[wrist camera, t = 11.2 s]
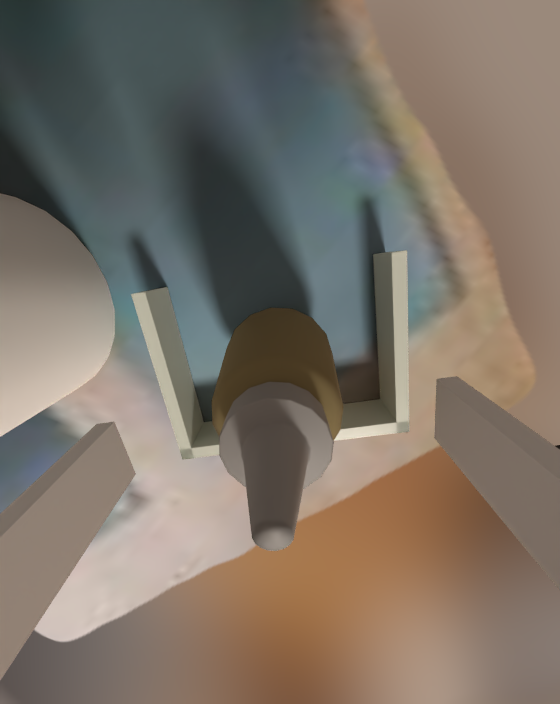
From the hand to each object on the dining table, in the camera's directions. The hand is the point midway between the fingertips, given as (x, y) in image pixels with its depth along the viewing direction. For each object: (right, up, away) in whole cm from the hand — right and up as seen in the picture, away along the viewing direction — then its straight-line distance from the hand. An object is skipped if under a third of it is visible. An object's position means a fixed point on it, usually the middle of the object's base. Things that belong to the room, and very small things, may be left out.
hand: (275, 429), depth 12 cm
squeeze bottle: (0, +4, +13) cm, 14 cm away
